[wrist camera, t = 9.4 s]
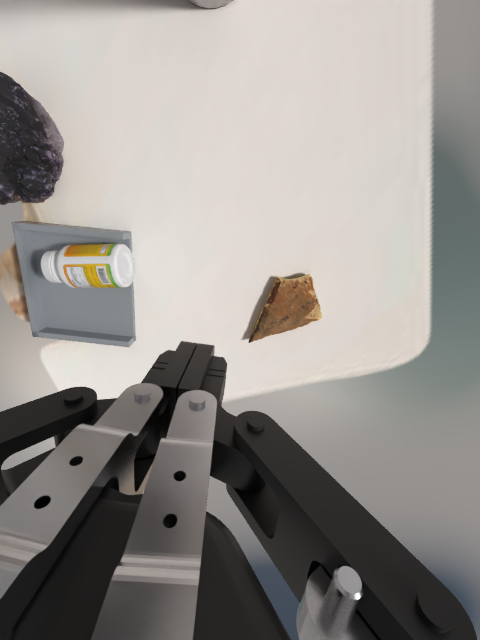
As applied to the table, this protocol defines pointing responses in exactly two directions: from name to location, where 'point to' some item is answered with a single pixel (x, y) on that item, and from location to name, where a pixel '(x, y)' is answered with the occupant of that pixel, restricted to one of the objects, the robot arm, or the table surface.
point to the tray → (73, 303)
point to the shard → (287, 307)
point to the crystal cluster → (26, 146)
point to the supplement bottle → (90, 266)
